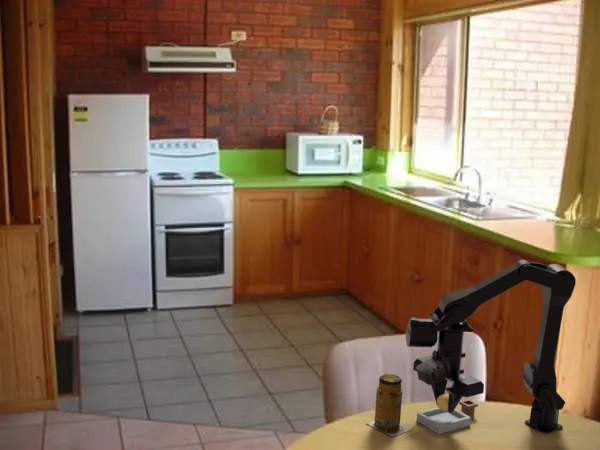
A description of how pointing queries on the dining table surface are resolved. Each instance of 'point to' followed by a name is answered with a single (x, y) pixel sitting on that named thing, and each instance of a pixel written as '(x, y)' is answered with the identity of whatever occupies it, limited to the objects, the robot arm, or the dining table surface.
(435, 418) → the tray
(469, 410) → the egg cup
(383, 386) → the condiment
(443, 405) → the ball
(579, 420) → the dining table surface
